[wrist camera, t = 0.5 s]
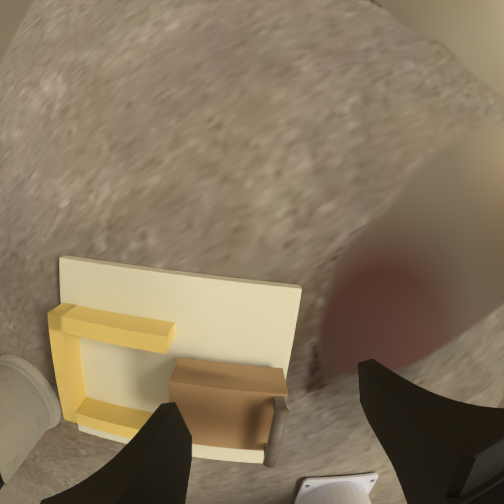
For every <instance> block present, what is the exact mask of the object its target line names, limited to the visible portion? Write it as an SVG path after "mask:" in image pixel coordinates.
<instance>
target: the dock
mask: <svg viewBox="0 0 504 504" xmlns="http://www.w3.org/2000/svg"><path fill="white" fill-rule="evenodd" d="M59 270H60V299H61V304H60V305H59V306H57V307H55V308H54V309H52V310H51V311H49V312H47V316H48V326H49V335H50V344H51V351H52V358H53V364H54V371H55V376H56V382H57V387H58V392H59V397H60V402H61V406H62V411H63V415H64V419H65V420H67V421H70V422H73V423H76V424H78V428H79V431H83V432H86V433H89V434H92V435H96V436H99V437H103V438H106V439H110V440H114V441H117V442H121V443H125V444H128V443H129V441H130V440H131V439H132V438H133V437H134V436H135V435H136V434H137V432H138V431H139V430H140V429H141V428H142V426H143V425H144V424H145V423H146V422H147V420H148V419H149V418H150V417H151V415H152V414H153V413H154V412H155V410H156V409H157V408H158V407H159V406H160V404H161V403H169V380H170V378H171V375H172V373H173V370H174V368H175V365H176V363H177V360H178V358H179V357H184V358H194V359H198V360H206V361H214V362H222V363H231V364H240V365H250V366H262V367H274V368H283V372H284V377H285V380H286V375H287V370H288V364H289V359H290V354H291V349H292V343H293V338H294V332H295V327H296V321H297V315H298V309H299V304H300V298H301V292H302V288H301V287H300V285H296V284H287V283H277V282H268V281H259V280H250V279H241V278H232V277H224V276H215V275H207V274H199V273H191V272H183V271H175V270H167V269H159V268H152V267H144V266H137V265H130V264H122V263H115V262H108V261H101V260H94V259H87V258H81V257H74V256H67V255H66V256H63V257H60V258H59ZM192 457H199V458H207V459H215V460H225V461H236V462H249V463H263V460H264V451H258V450H243V449H232V448H221V447H213V446H204V445H197V444H192Z"/></svg>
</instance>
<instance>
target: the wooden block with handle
mask: <svg viewBox="0 0 504 504" xmlns="http://www.w3.org/2000/svg"><path fill="white" fill-rule="evenodd" d="M287 397H288V391H287V386H286V381H285V377H284V372H283V368H274V367H262V366H250V365H240V364H231V363H222V362H214V361H206V360H198V359H194V358H184V357H179V358H178V360H177V363H176V365H175V368H174V370H173V373H172V375H171V378H170V380H169V403H170V402H176V404H177V407H178V409H179V411H180V413H181V415H182V417H183V419H184V421H185V423H186V425H187V427H188V429H189V431H190V433H191V435H192V444H197V445H204V446H213V447H221V448H232V449H243V450H258V451H264V460H263V464H264V466H266V467H274V466H275V464H276V460H277V457H278V453H279V449H280V445H281V441H282V437H283V433H284V429H285V425H286V421H287V416H288V412H289V410H288V408H286V402H287Z"/></svg>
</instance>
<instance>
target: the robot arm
mask: <svg viewBox="0 0 504 504" xmlns="http://www.w3.org/2000/svg"><path fill="white" fill-rule="evenodd" d="M358 374H359V390H360V402H361V405H362V407H363V410H364V412H365V415H366V417H367V420H368V422H369V424H370V426H371V427H372V429H373V431H374V433H375V434H376V436H377V438H378V440H379V441H380V443H381V445H382V447H383V448H384V450H385V452H386V454H387V455H388V457H389V459H390V461H391V463H392V465H393V467H394V469H395V472H396V474H397V477H398V479H399V482H400V484H401V487H402V490H403V492H404V495H405V498H406V501H407V504H504V408H492V407H483V406H477V405H471V404H467V403H463V402H459V401H455V400H452V399H449V398H446V397H443V396H440V395H437V394H435V393H432V392H430V391H428V390H425V389H423V388H421V387H419V386H417V385H415V384H413V383H411V382H410V381H408V380H406V379H404V378H403V377H401V376H399V375H397V374H396V373H394V372H393V371H391V370H389V369H388V368H386V367H385V366H383V365H382V364H380V363H378V362H377V361H375V360H374V359H370V360H366V361H363V362H360V363H358ZM191 460H192V435H191V433H190V431H189V429H188V427H187V425H186V423H185V421H184V419H183V417H182V415H181V413H180V411H179V409H178V407H177V404H176V402H170V403H161V404H160V406H159V407H158V408H157V409H156V410H155V412H154V413H153V414H152V415H151V417H150V418H149V419H148V420H147V422H146V423H145V424H144V425H143V426H142V428H141V429H140V430H139V431H138V432H137V434H136V435H135V436H134V437H133V438H132V439H131V440H130V441H129V443H128V444H127V445H126V446H125V447H124V448H123V449H122V450H121V451H120V452H119V453H118V454H117V455H116V456H115V457H114V458H113V459H112V460H110V461H109V462H108V463H107V464H106V465H105V466H103V467H102V468H101V469H99V470H98V471H97V472H95V473H94V474H92V475H91V476H90V477H88V478H87V479H85V480H84V481H82V482H80V483H79V484H77V485H75V486H73V487H71V488H69V489H67V490H65V491H63V492H61V493H59V494H56V495H54V496H51V497H49V498H46V499H44V500H42V501H41V503H40V504H185V500H186V493H187V487H188V480H189V474H190V467H191ZM377 478H378V474H377V473H368V474H359V475H349V476H336V477H318V478H306V479H304V480H303V481H302V484H301V487H300V489H299V492H298V494H297V497H296V499H295V502H294V504H371V502H370V499H369V497H368V494H369V492H370V490H371V489H372V487H373V485H374V483H375V482H376V480H377Z"/></svg>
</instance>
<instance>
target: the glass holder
mask: <svg viewBox="0 0 504 504" xmlns="http://www.w3.org/2000/svg"><path fill="white" fill-rule="evenodd" d="M60 418H61V408H60V403H59V401H58V398H57V396H56V394H55V392H54V390H53V388H52V387H51V385H50V383H49V382H48V381H47V379H46V378H45V377H44V376H43V375H42V373H41V372H40V371H39V370H38V369H37V368H36V367H34V366H33V365H32V364H31V363H29V362H28V361H27V360H25V359H23V358H22V357H20V356H17V355H14V354H3V355H1V356H0V489H1V488H2V486H3V485H7V483H8V482H9V481H10V479H11V478H12V476H13V475H14V474H15V472H16V471H17V470H18V468H19V467H20V465H21V464H22V463H23V461H24V460H25V459H26V457H27V456H28V455H29V453H30V452H31V451H32V449H33V448H34V447H35V445H36V444H37V443H38V441H39V440H40V439H41V437H42V436H43V435H44V433H45V432H46V431H47V430H48V429H51V428H53V427H55V426H56V425H57V424H58V423H59V421H60Z"/></svg>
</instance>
